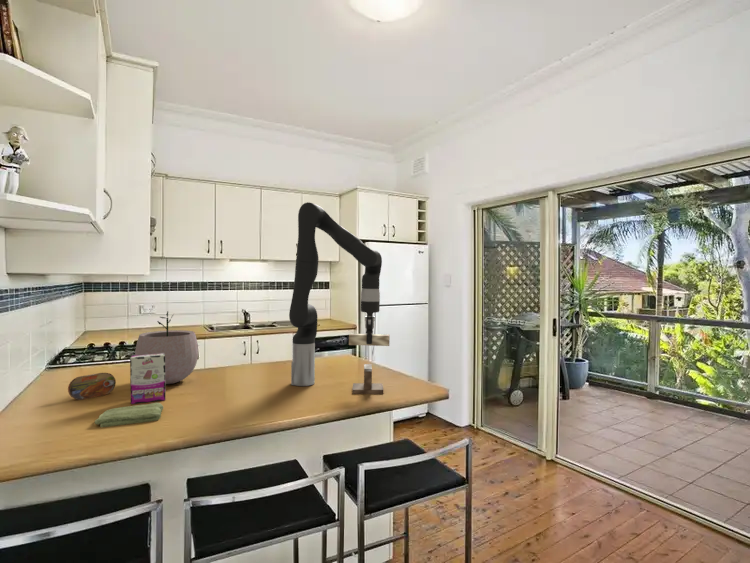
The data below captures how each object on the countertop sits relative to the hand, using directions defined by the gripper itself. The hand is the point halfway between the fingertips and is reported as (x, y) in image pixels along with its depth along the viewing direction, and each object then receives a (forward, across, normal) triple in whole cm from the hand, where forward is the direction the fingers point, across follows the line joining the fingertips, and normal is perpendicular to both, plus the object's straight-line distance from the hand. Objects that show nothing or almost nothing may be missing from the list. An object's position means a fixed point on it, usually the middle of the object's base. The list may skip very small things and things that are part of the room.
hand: (369, 342), depth 171 cm
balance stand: (+19, -1, 0) cm, 19 cm away
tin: (+21, -13, +102) cm, 105 cm away
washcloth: (+20, -36, +74) cm, 85 cm away
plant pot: (+20, +8, +84) cm, 87 cm away
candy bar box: (+20, -18, +79) cm, 83 cm away
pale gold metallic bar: (+1, 0, 0) cm, 1 cm away
